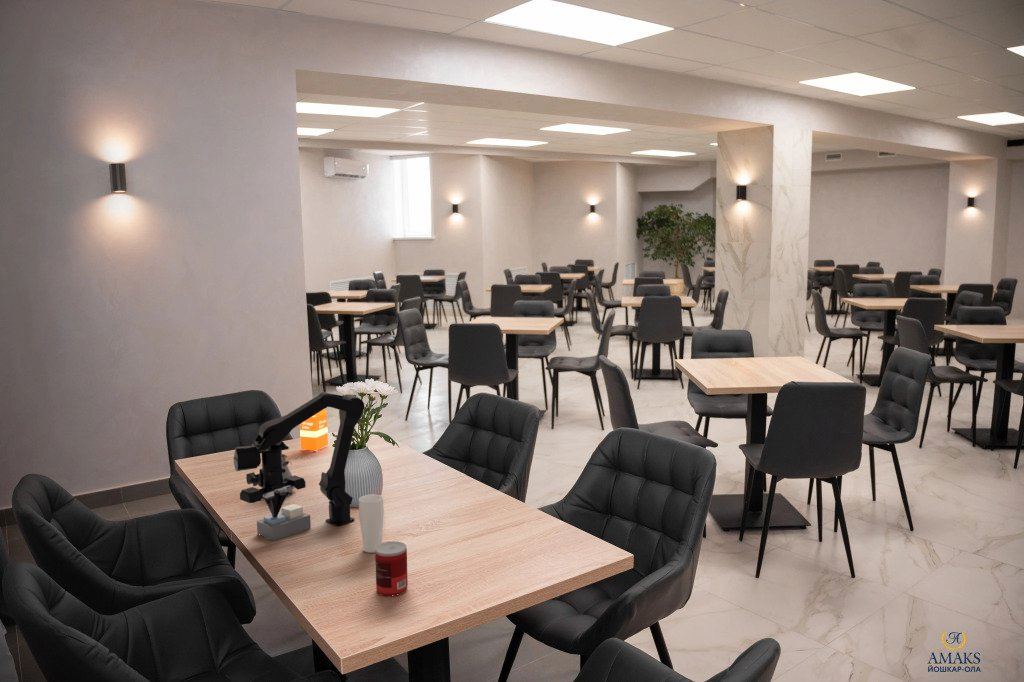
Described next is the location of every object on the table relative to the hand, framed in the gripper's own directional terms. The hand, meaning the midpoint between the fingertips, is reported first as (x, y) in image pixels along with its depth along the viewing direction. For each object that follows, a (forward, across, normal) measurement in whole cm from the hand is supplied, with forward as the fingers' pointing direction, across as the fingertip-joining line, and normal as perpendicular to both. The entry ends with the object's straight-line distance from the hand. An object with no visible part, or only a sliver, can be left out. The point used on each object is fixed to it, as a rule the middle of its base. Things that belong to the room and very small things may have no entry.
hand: (274, 516), depth 223 cm
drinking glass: (+6, -10, +32) cm, 34 cm away
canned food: (+6, +3, +54) cm, 55 cm away
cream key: (+3, -6, 0) cm, 7 cm away
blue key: (+4, 0, 0) cm, 4 cm away
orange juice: (+6, -64, -70) cm, 96 cm away
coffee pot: (+6, -20, -28) cm, 35 cm away
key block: (+5, -3, 0) cm, 6 cm away
